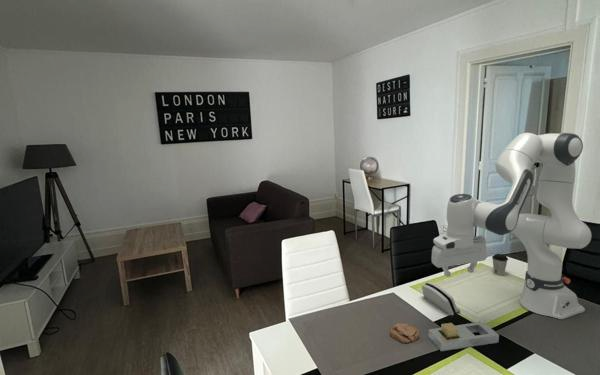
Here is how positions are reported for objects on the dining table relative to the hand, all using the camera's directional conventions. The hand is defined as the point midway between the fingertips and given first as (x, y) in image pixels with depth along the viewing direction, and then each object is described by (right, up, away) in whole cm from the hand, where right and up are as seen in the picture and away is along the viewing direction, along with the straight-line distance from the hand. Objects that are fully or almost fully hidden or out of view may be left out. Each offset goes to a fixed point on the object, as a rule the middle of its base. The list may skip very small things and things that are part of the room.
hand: (459, 274), depth 117 cm
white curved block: (+1, -19, +20) cm, 28 cm away
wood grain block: (-5, -24, -3) cm, 24 cm away
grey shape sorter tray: (0, -23, -3) cm, 23 cm away
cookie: (-20, -24, +2) cm, 31 cm away
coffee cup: (+43, -13, +45) cm, 64 cm away
